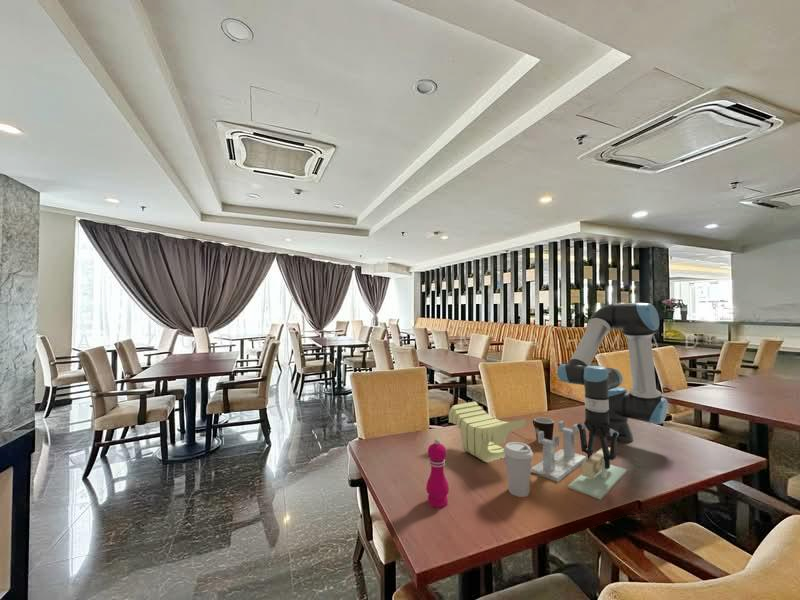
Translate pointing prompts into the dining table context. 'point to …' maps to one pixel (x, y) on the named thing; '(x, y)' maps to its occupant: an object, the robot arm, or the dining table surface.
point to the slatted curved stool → (481, 430)
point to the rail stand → (558, 455)
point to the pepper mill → (437, 476)
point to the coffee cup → (518, 468)
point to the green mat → (598, 482)
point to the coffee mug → (544, 427)
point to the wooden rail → (593, 464)
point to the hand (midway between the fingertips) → (599, 475)
